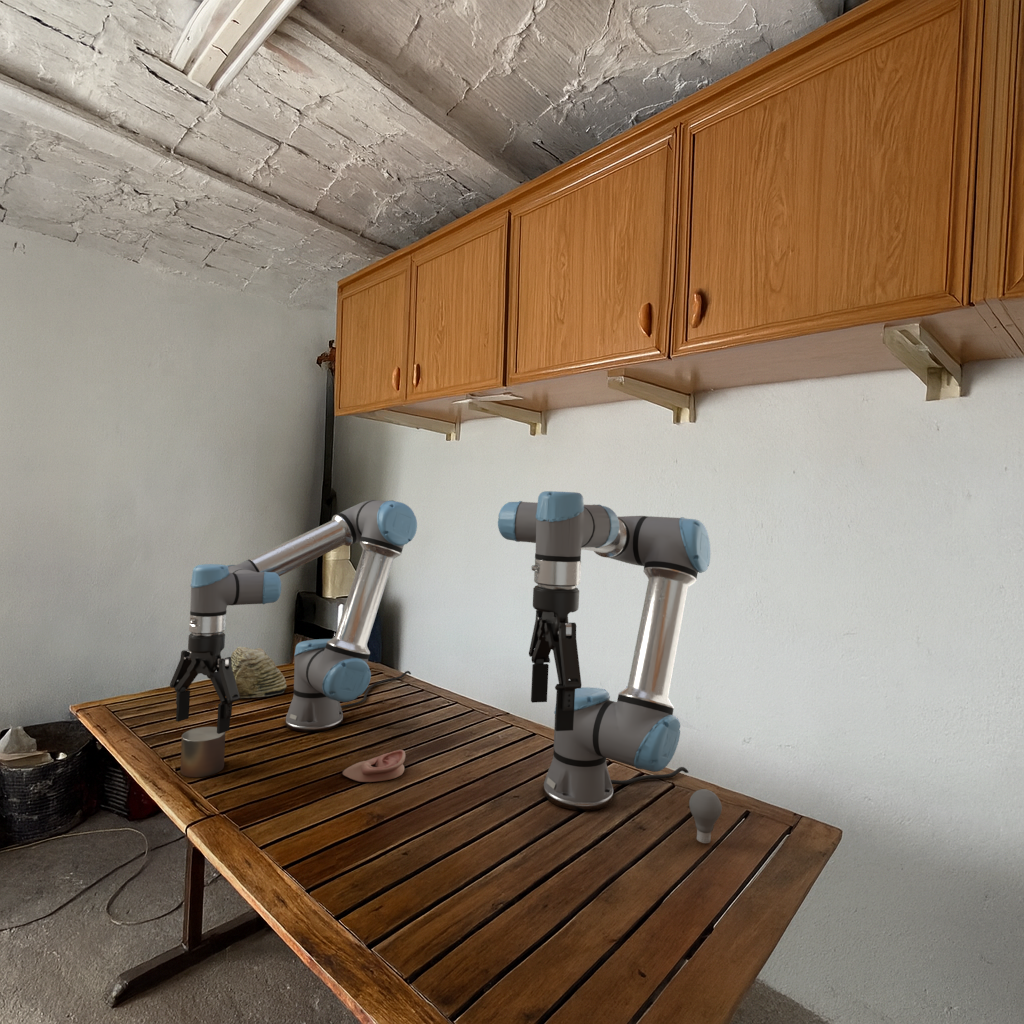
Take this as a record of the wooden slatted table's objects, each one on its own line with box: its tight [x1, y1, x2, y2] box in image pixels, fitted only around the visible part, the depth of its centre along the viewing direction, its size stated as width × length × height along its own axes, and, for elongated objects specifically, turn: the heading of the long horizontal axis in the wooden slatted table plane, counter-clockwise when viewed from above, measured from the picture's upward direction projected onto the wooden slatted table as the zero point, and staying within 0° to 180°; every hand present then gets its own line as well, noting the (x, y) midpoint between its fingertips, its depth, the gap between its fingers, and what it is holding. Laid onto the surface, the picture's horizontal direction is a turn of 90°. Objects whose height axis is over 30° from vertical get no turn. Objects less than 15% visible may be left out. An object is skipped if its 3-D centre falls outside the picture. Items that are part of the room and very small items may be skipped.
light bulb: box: [688, 788, 723, 844], centre depth 122 cm, size 6×6×10 cm
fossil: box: [230, 646, 288, 699], centre depth 198 cm, size 9×18×15 cm, turn 132°
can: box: [180, 726, 226, 778], centre depth 144 cm, size 9×9×8 cm
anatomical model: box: [342, 749, 406, 783], centre depth 146 cm, size 13×4×12 cm
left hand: (202, 725), depth 144 cm, fingers open, 13 cm apart
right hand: (550, 715), depth 104 cm, fingers open, 13 cm apart
